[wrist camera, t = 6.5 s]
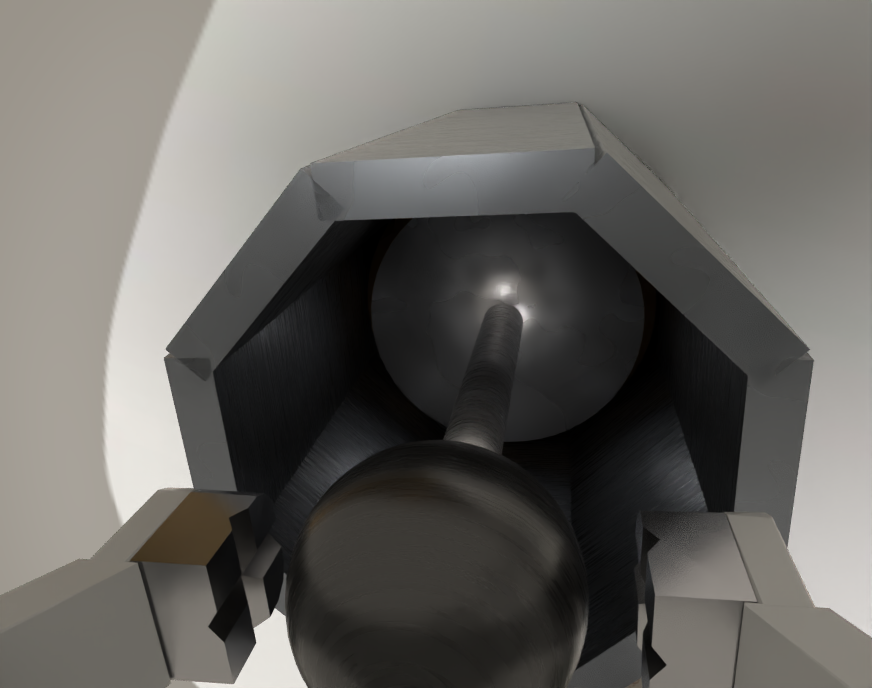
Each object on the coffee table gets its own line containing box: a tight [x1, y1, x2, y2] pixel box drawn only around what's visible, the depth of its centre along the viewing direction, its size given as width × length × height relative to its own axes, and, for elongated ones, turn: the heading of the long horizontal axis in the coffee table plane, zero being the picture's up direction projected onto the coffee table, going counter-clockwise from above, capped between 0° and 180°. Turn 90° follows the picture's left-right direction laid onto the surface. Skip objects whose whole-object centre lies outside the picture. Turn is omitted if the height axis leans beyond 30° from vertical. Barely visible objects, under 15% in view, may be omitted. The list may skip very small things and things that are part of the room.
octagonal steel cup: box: [164, 102, 814, 688], centre depth 18 cm, size 10×13×14 cm
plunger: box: [285, 212, 644, 688], centre depth 12 cm, size 7×7×12 cm
